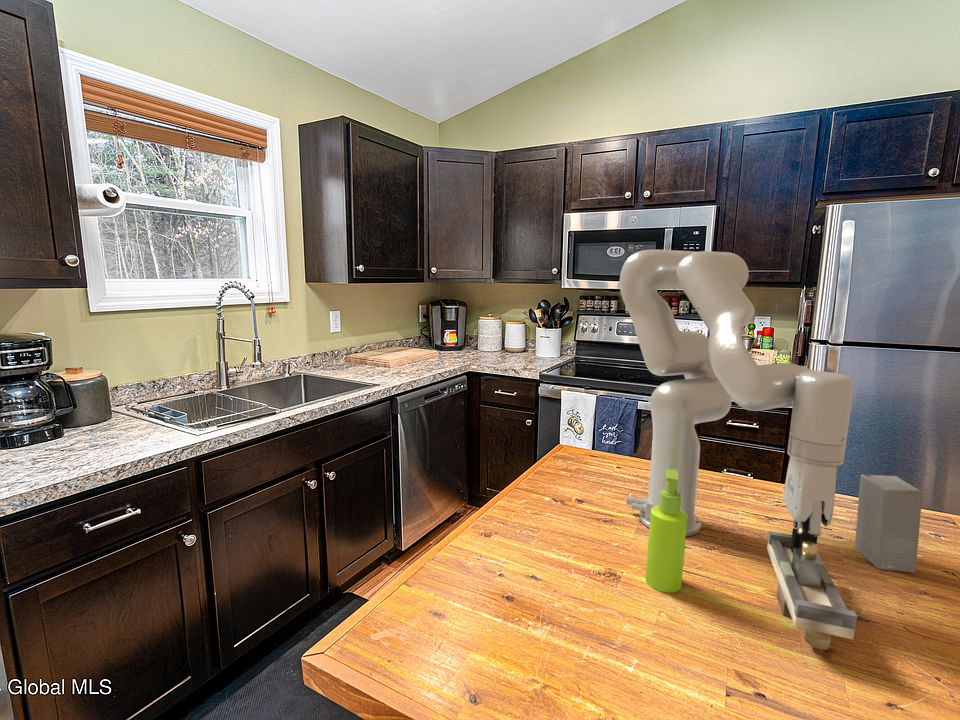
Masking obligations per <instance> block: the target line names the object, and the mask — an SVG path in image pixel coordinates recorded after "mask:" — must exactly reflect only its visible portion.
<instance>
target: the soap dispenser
mask: <svg viewBox="0 0 960 720" xmlns="http://www.w3.org/2000/svg"><path fill="white" fill-rule="evenodd" d="M678 481H679V478H678V470H676V469H668V468H666V489H664V490H662V491H661V492H660V501H659V505H658V506H654V507H653V508H652V509H651V517H650V528H649V531H648V544H647V545H648V546H647V554H646V555H647V557H646V567H645V568H646V570H645V571H646V572H645V581H646V583H647V585H649V587H650V588H652V589H654V590H656V591H658V592H661V593H676V592H680V590H681V589H682V583H683V581H682V580H683V570H684V560H685V550H686V549H685V548H686V539H687V538H686V537H687V536H686V529H687V518H688V516H687V514H686V513H685V512H684V511H683V510H681V509H680V506H681V494H680V493H679V492H677V491H676V490H677V483H678Z"/></svg>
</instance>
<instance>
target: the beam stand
mask: <svg viewBox="0 0 960 720" xmlns="http://www.w3.org/2000/svg"><path fill="white" fill-rule="evenodd" d="M791 538H792V534H789V533H783V532H778V531H772V530H769V531H768V538H767V547H766V549H767V550H766V551H767V553H768V555H769V558H770V561H771V564H772V566H773V569H774V572H775V574H776V578H777V580H778V585H777V592H776V598H777V601H778V604H779V607H780V611H781V613H782V615H783V616H787V617H789V618H790V617H791V620H792V623H793V625H794V627H796V628H801V629H805V632H804V641H805V642H806V643H807V644H808V645H810V646H811V647H813V648H814V649H818V650H821V651H827V650H828V649H830V646H831V638H832V635H833V636H836V637H840V638H844V639H848V640H854V638H855V632H856V626H857V620H858V615H857V614H856V612H855V611H854V610H849V609H848V608H847V606H846V604H845V603H844V600H843V598H842V597H841V595H840V593H839V591H838V589H837V588H836V586H835V583H834V581H833V579H832V578H831V575H830V574H829V572H828V570H827V569H826V567H825V566H824V568H823V575H822V582H821V588H816V587H811V586H806V585H801V584H798V583H797V581H796V578H795V575H794V573H793V571H792V568H791V566H792V558H793V553H792V551H791V549H790V546H791Z"/></svg>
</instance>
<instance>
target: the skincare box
mask: <svg viewBox="0 0 960 720" xmlns="http://www.w3.org/2000/svg"><path fill="white" fill-rule="evenodd" d="M923 494H924V491H922V490H920V489H919V488H917V487H915V486H914V485H912V484H910V483H908V482H907V481H905V480H903V479H902V478H900V477H898V476H897V475H880V474H879V475H876V474H860V476H859V490H858V503H857V515H856V528H855V529H856V530H855V541H854V548H855V549H856V550H857V551H858V552H859V553H860V554H861V555H862V556H863V557H865V558H866V560H867V561H869V563H871V564H872V565H873V566H874V567H875V568H876V569H879V570H883V571H884V570H885V571H897V572H904V573H910V574H912V573H913V574H915V573H916V571H917V560H918V559H917V558H918V547H919V536H920V527H921V526H920V525H921V515H922V514H921V513H922V502H923Z"/></svg>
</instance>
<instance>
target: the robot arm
mask: <svg viewBox="0 0 960 720" xmlns="http://www.w3.org/2000/svg"><path fill="white" fill-rule="evenodd" d="M749 276H750V275H749V268H748V265H747V262H745V260H744V259H743V258H742V257H741V256H740V255H738V254H736V253H733V252H728V251H707V250H706V251H705V250H703V251H701V250H700V251H694V250H693V251H692V250H691V251H690V250H673V249H670V250H668V249H643V250H640V251H636V252H634V253H633V254H631V255H630V256H629V257H628V258H627V259H626V260H625V261H624V263H623V266H622V269H621V271H620V276H619V289H620V290H619V291H620V295H621V298H622V301H623V303H624V306H625V308H626V310H627V312H628V313H629V314H628V315H629V316H630V318H631V321H632V325H633V327H634V331H635V334H636V337H637V340H638V344H639V348H640V351H641V354H642V357H643V360H644V363H645V366H646V368H647V369H648V371H649V372H650V373H651V374H652V375H655V376H658V377H669V376H671V377H672V376H679V375H680V376H681V375H682V376H683V377H684V379H675V380H669V381H667V382H666V381H665V382H663V383H661V384H660V385H658V386H657V387H656V388H655V389H654V390H653V392H652V394H651V396H650V402H649V405H650V414H651V422H652V423H651V424H652V440H651V441H652V442H651V459H650V468H649V469H650V470H649V482H648V483H649V485H648V493H647V494H646V497H644V496H642V497H641V498H639V497H636V496H629V495H627V496H626V505H627V506H630V507H631V510H635V511H639V520H640V521H641V523H642V524H643V525H644V526H646V527H647V528H649V529H650V517H651V509H652V508H653V507H654V506H658V505H659V501H660V492H661V491H662V490H664V489H666V468H668V469H676V470H678V478H679V481H678V483H677V490H676V491H677V492H679V493H680V494H681V506H680V509H681V510H683V511H684V512H685V513H686V514H687V516H688V518H687V529H686V537H688V536H690V537H691V536H693V535H696V534H697V533H699V532H700V531H701V529H702V522H701V519H700V518H699V516H697V515H696V513H695V511H696V510H695V508H696V500H697V487H698V476H699V465H700V457H701V456H700V454H701V443H700V439H699V436H698V434H697V431H696V428H695V425H698V424H701V423H708V422H713V421H718V420H721V419H722V418H725V417H726V415H728V413H729V411H730V410H731V407H732V401H733V402H734V403H735V404H737V406H739V407H740V408H742V409H745V410H747V411H752V412H759V411H766V410H772V409H773V410H774V409H778V408H779V409H780V408H792V412H791V419H790V428H789V436H788V443H787V444H788V445H787V452H786V453H787V455H788V456H789V461H788V466H787V470H786V471H787V472H786V478H785V483H784V489H783V495H782V498H783V502H784V504H785V506H786V509H787V510H788V512H789V514H790V517H792V519H793V523H792V524H793V528H792V532H791V535H792V538H791V546H790V549H791V551H792V553H793V551H794V548H800V549H802V543H803V541H810V542H813V543H815V544H817V543H818V538H819V536H821V532H822V531H821V530H822V529H821V527H822V525H823V526H824V527H829V526H830V525H831V523H832V519H833V514H834V508H835V507H834V506H835V498H836V485H837V467H838V466H841V465H843V464H844V460H845V453H846V448H847V447H846V446H847V439H848V432H849V426H850V425H849V424H850V419H851V418H850V417H851V411H852V405H853V396H854V389H855V387H854V386H855V385H854V381H853V380H852V378H850V377H849V376H847V375H845V374H842V373H838V372H831V371H820V370H813V369H811V368H807V367H806V366H805V367H804V366H802V365H798V364H796V363H788V362H781V363H767V364H757V362H756V360H755V359H754V358H753V356H752V355H751V353H750V352H749V350H748V349H747V347H746V345H745V343H744V340H743V338H742V337H743V336H742V328H744V327H745V326H747V324H748V323H750V321H752V319H753V317H754V316H755V307H754V304H753V303H752V302H751V301H750V299H749V298H748V296H747V295H746V293H745V292H744V291H743V288H745V286H746V284H747V282H748V281H749ZM658 290H682V291H683V292H684V294H685V296H686V297H687V299H688V300H689V301H690V303H691V305H692V306H693V307H694V309H695V310H696V312H697V314H698V316H699V317H700V319H701V320H702V322H703V324H704V325H705V326H706V328H707V329H708V331H709V336H706V335H705V334H703V333H701V332H700V331H693V330H685V331H684V330H680V328H679V327H678V325H677V322H676V320H675V316H674V314H673V311H672V309H671V307H670V305H669V304H668V302H666V300H665V299H664V298H663V297H662V296H661V295H660V294H659V292H658ZM817 545H818V544H817Z"/></svg>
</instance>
